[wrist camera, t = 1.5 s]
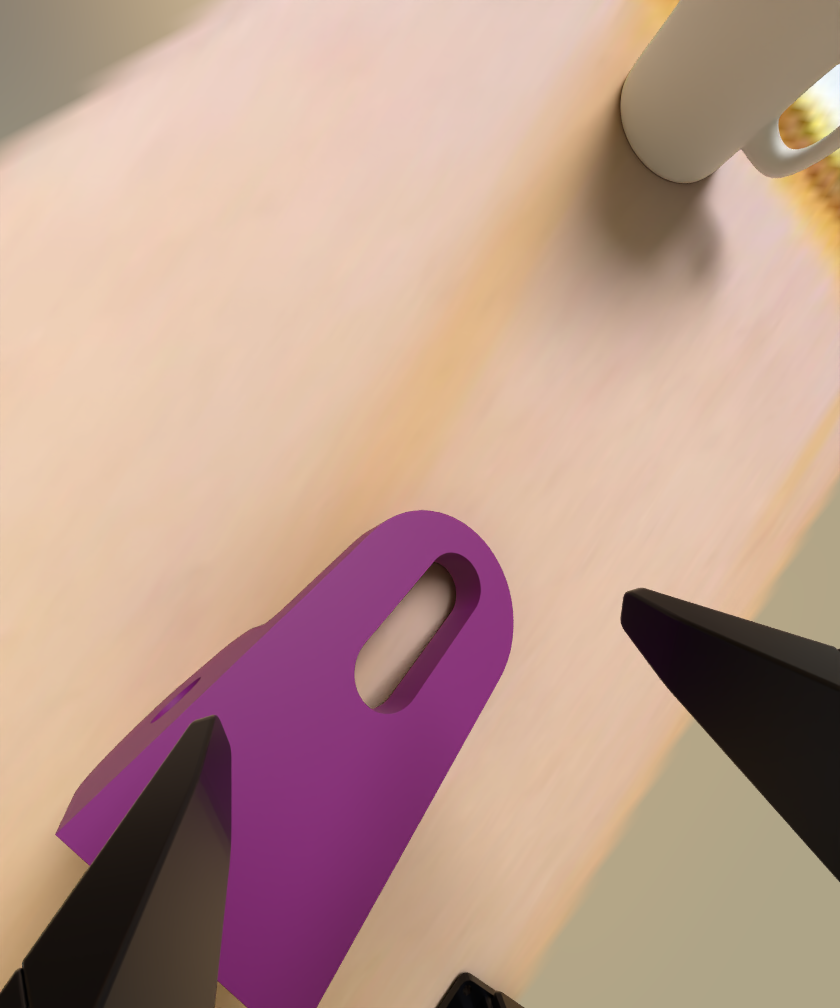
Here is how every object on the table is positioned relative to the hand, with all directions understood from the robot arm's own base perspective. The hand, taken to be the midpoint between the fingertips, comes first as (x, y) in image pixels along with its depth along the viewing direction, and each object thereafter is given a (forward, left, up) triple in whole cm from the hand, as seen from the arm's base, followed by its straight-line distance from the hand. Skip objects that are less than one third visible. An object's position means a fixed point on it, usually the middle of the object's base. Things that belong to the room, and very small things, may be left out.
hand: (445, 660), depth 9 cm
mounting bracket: (-4, -2, -15) cm, 15 cm away
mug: (+35, +2, -14) cm, 38 cm away
